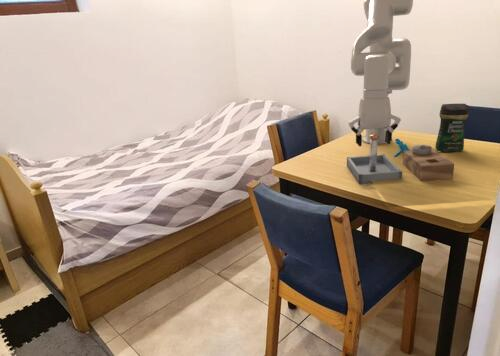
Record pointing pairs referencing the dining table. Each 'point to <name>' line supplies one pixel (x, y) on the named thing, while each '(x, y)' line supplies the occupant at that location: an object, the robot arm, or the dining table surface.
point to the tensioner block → (427, 163)
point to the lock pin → (373, 152)
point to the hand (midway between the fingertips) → (373, 144)
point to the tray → (364, 176)
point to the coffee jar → (452, 128)
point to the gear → (402, 146)
